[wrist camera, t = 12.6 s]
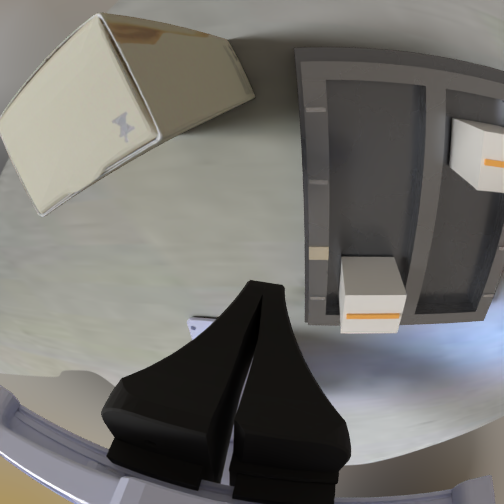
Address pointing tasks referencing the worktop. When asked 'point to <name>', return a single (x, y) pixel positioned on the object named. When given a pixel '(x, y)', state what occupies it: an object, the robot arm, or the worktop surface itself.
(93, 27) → the skincare box
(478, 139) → the knob
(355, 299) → the rear fader knob
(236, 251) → the worktop surface
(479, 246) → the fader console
